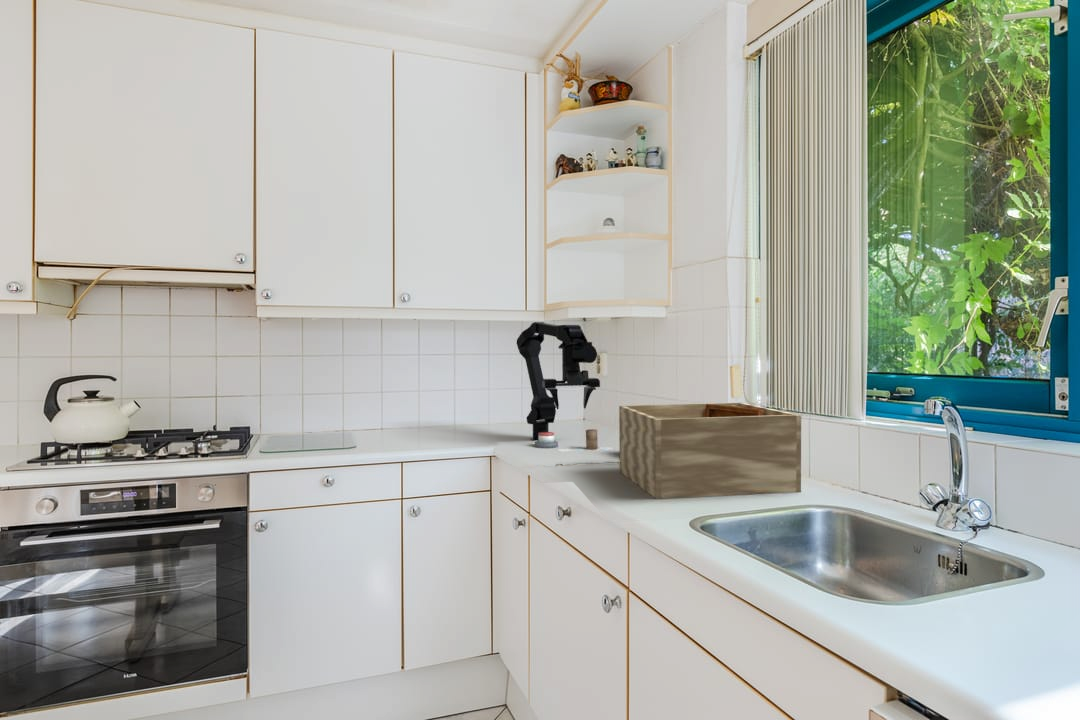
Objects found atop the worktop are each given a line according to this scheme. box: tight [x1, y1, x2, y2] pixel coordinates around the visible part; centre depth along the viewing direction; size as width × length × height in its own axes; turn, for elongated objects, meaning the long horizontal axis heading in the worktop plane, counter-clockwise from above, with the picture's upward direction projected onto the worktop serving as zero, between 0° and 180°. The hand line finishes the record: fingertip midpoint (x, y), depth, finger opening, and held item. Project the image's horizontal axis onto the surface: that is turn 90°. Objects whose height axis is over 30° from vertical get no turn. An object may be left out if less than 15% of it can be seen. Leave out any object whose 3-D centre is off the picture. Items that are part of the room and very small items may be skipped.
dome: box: [538, 431, 555, 444], centre depth 200 cm, size 5×5×3 cm
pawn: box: [585, 428, 599, 451], centre depth 194 cm, size 4×4×6 cm
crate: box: [618, 402, 802, 500], centre depth 154 cm, size 29×35×18 cm
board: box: [534, 440, 614, 453], centre depth 198 cm, size 15×24×2 cm, turn 99°
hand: (571, 408), depth 204 cm, fingers open, 9 cm apart
